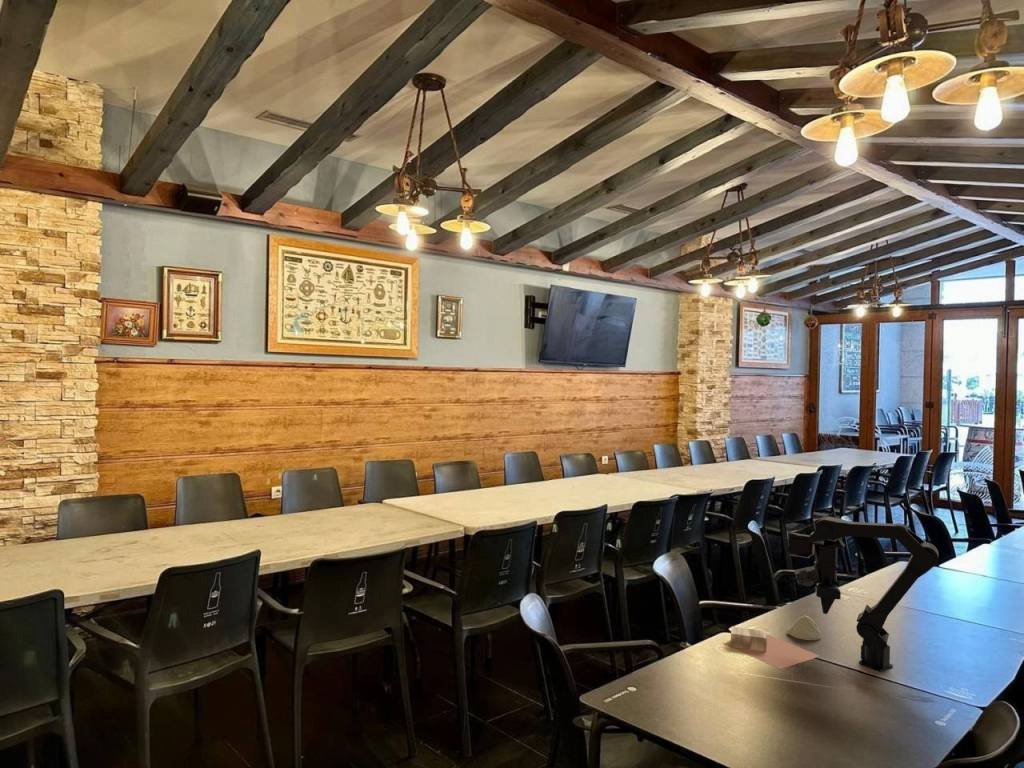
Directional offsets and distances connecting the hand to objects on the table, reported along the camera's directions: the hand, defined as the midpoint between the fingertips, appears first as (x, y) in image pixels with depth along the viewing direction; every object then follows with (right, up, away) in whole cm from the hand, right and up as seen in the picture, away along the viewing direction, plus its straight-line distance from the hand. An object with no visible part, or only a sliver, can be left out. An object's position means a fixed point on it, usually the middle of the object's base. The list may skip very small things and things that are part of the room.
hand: (824, 613), depth 200 cm
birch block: (-16, -9, +3) cm, 19 cm away
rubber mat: (-15, -12, +2) cm, 19 cm away
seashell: (0, -12, +14) cm, 18 cm away
